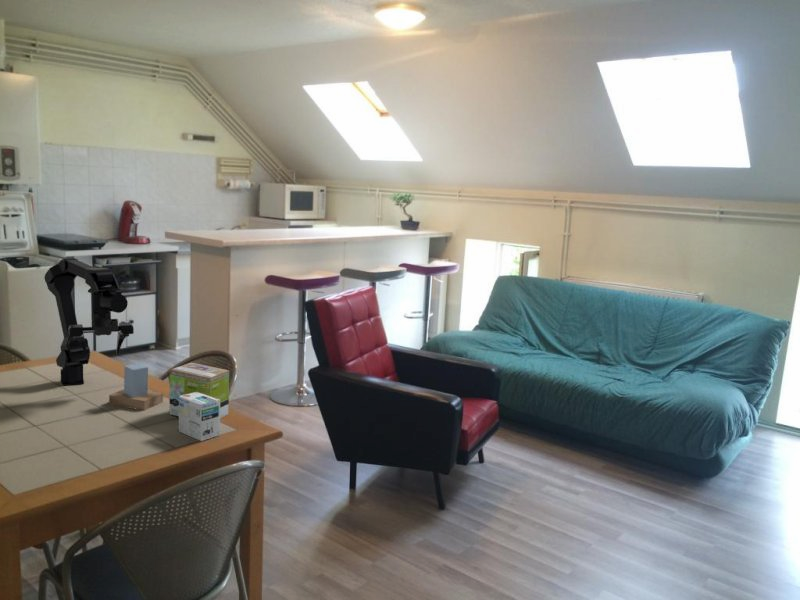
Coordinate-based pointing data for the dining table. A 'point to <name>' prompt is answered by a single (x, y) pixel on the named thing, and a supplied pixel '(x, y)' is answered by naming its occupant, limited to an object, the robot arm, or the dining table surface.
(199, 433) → the light bulb box
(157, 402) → the stack block
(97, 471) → the dining table surface
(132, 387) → the pillar block
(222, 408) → the tea box
